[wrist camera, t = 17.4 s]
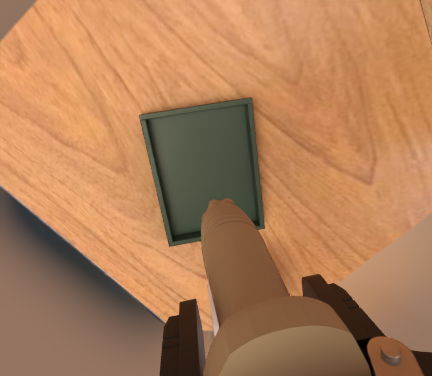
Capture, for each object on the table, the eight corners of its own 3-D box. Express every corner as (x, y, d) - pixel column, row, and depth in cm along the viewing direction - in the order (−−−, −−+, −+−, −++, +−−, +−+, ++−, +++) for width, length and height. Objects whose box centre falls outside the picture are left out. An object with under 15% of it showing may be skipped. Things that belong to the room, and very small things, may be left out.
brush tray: (260, 221, 38) (264, 228, 36) (170, 238, 37) (169, 246, 35) (247, 98, 33) (251, 97, 31) (141, 114, 32) (138, 115, 30)
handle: (195, 252, 23) (217, 500, 8) (187, 180, 21) (196, 343, 6) (250, 245, 23) (360, 469, 9) (247, 174, 21) (382, 312, 7)
